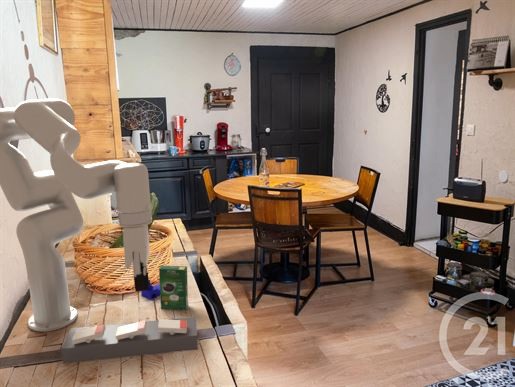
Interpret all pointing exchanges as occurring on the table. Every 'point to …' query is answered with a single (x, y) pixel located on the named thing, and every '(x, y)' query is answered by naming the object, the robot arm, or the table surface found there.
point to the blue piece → (151, 292)
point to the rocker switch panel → (130, 343)
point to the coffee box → (173, 287)
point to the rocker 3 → (172, 326)
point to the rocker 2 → (131, 330)
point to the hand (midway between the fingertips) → (142, 289)
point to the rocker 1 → (89, 334)
